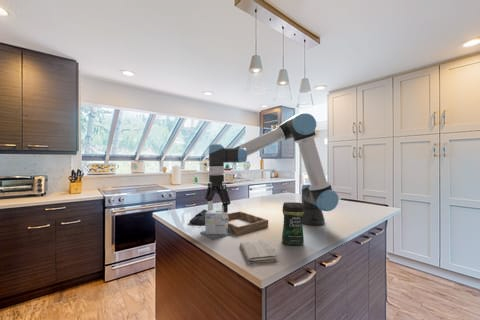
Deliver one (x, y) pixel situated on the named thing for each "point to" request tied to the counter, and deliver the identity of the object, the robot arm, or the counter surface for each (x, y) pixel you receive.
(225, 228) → the light bulb box
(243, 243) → the washcloth
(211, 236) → the mat
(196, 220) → the dark slate chunk
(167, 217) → the counter surface
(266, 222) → the brown wooden tray
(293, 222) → the coffee jar
